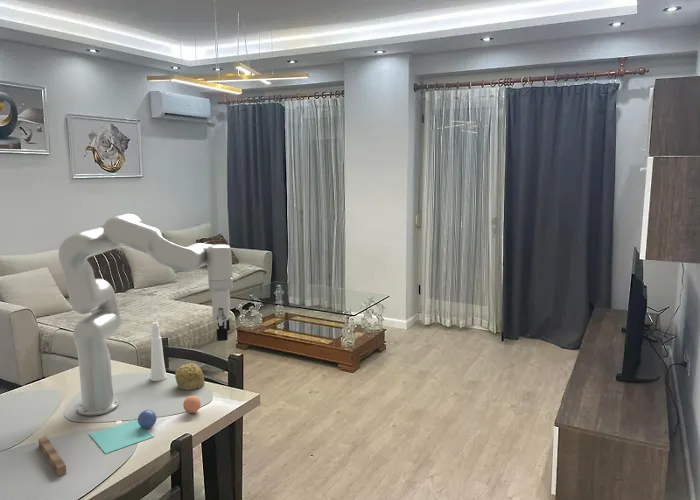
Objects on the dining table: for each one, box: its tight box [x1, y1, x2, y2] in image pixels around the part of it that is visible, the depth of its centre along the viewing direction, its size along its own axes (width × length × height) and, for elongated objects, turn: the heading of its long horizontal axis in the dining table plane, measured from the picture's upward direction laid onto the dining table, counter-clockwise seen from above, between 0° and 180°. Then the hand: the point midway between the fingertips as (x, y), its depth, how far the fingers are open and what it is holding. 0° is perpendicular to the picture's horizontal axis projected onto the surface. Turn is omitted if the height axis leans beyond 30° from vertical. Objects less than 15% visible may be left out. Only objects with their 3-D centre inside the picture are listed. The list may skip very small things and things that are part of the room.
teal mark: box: [89, 419, 155, 454], centre depth 163 cm, size 14×14×1 cm
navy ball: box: [137, 409, 158, 429], centre depth 168 cm, size 6×6×6 cm
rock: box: [174, 362, 206, 391], centre depth 198 cm, size 10×11×10 cm
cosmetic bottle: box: [149, 321, 168, 382], centre depth 203 cm, size 6×6×22 cm
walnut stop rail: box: [37, 435, 67, 477], centre depth 150 cm, size 20×2×2 cm, turn 42°
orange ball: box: [183, 395, 202, 414], centre depth 178 cm, size 6×6×6 cm
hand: (223, 335), depth 173 cm, fingers open, 9 cm apart
